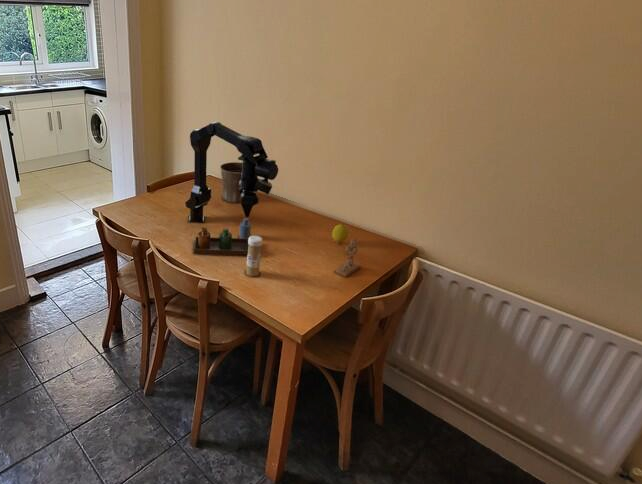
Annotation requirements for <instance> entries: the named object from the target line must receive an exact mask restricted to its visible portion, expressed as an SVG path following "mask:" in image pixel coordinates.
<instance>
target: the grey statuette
mask: <svg viewBox="0 0 642 484" xmlns="http://www.w3.org/2000/svg"><path fill="white" fill-rule="evenodd" d="M356 245H357V239H356V238H352V239H351V240H350V241H349V244H348V245H347V246H346V247H345V249H344V254H345V255H346V259H345V262H344V264H343V265H342V266H340V267H339V268H337V269H336V270H335V273H336V274H338V275H341V276H343V277H345V278H347V277H348V276H350V275H351V274H353V273H354V272H356V271H357V270H358V269H360V265H359V264H357V263H355V262H354V256H355V255H356V254H357V253H358V247H357V246H356ZM348 252H349V253H348Z"/></svg>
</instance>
